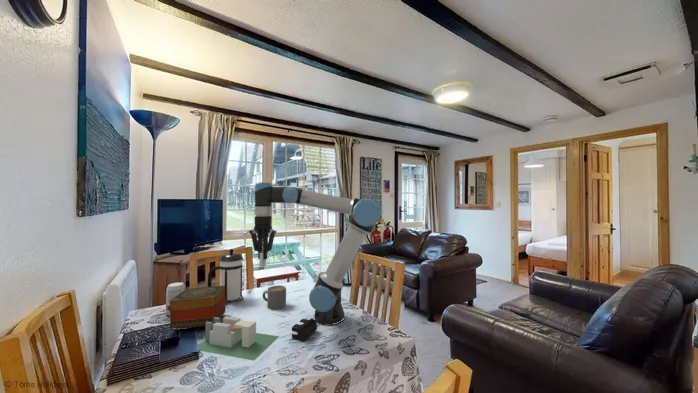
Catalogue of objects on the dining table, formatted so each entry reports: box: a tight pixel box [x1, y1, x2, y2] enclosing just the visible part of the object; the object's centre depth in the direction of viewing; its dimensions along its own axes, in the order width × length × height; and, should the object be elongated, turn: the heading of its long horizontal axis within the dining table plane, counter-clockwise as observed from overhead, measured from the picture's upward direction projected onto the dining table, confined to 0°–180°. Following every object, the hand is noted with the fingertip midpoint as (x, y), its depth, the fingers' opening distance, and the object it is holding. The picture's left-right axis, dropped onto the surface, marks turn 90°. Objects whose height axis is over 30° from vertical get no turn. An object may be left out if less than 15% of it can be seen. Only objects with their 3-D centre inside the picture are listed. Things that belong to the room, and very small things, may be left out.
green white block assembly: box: [196, 316, 280, 361], centre depth 112 cm, size 28×18×9 cm, turn 75°
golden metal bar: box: [212, 322, 242, 331], centre depth 113 cm, size 17×3×1 cm, turn 75°
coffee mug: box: [262, 284, 287, 311], centre depth 154 cm, size 13×10×10 cm
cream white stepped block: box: [234, 319, 257, 348], centre depth 111 cm, size 7×5×8 cm
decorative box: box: [169, 285, 227, 329], centre depth 132 cm, size 20×22×16 cm
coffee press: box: [207, 248, 245, 306], centre depth 160 cm, size 17×16×30 cm
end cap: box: [291, 318, 318, 343], centre depth 118 cm, size 10×7×7 cm
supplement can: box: [165, 281, 186, 317], centre depth 143 cm, size 8×8×15 cm
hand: (262, 266), depth 128 cm, fingers closed
